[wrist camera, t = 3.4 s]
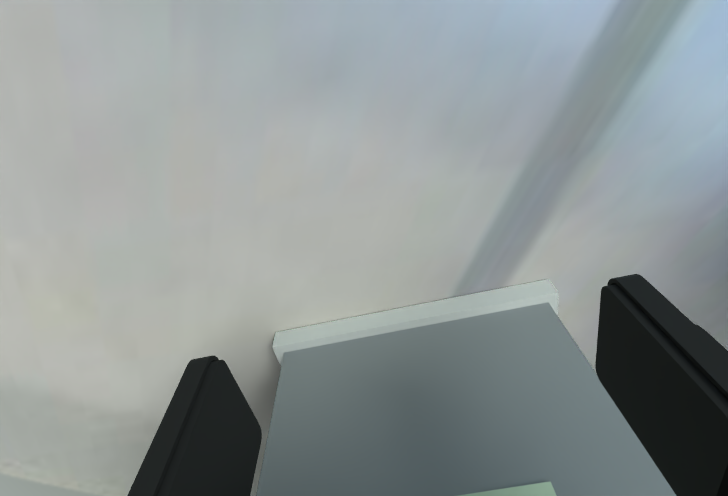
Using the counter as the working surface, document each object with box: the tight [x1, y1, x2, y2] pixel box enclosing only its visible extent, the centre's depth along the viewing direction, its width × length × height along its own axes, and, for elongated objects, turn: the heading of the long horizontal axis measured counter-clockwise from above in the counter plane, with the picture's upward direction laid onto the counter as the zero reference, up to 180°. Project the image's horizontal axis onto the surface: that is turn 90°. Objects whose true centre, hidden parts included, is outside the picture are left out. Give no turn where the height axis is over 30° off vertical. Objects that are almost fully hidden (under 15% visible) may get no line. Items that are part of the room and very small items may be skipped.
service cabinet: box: [256, 279, 676, 496], centre depth 17 cm, size 15×6×16 cm, turn 103°
